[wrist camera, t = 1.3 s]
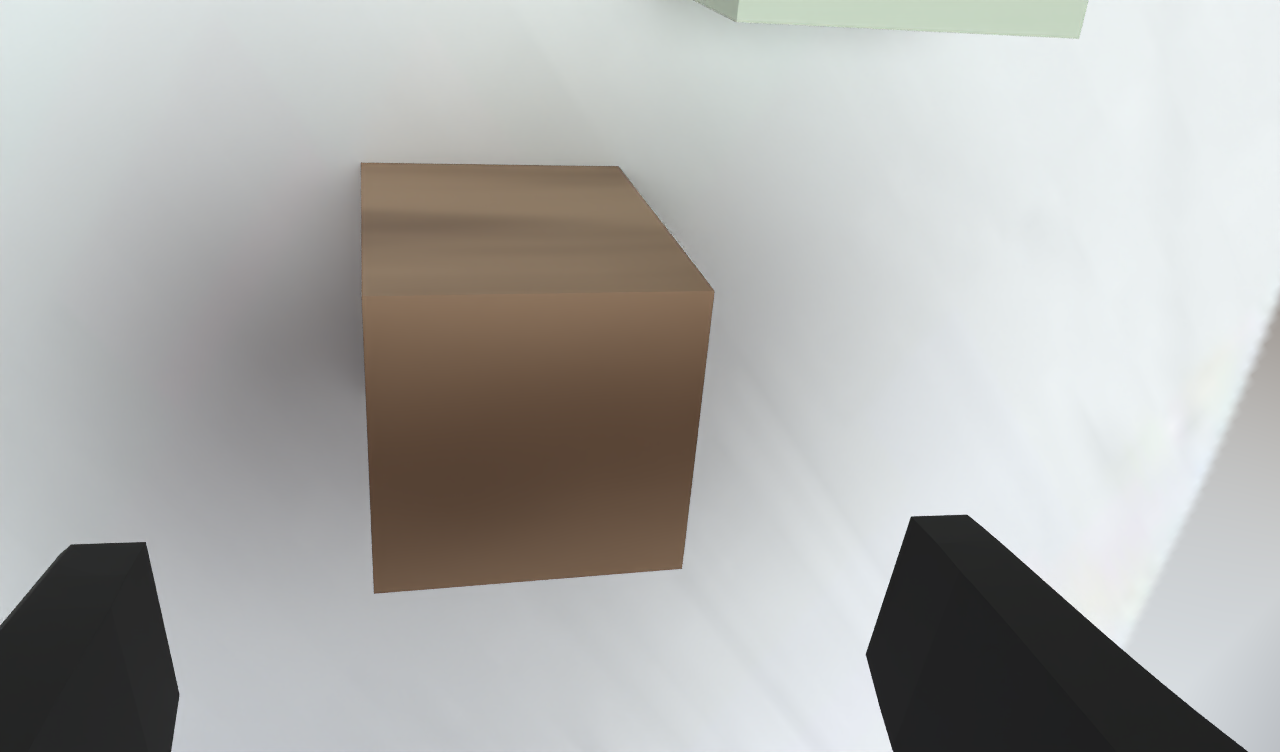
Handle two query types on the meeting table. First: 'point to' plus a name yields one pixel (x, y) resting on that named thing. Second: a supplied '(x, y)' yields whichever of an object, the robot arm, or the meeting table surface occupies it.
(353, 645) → the meeting table surface
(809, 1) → the green cube
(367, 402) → the walnut block
